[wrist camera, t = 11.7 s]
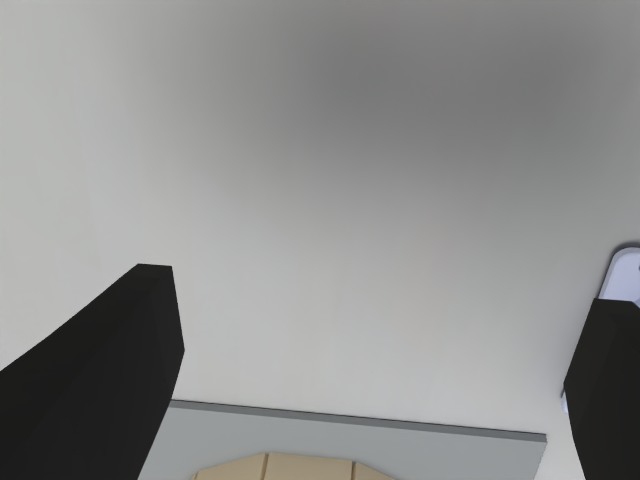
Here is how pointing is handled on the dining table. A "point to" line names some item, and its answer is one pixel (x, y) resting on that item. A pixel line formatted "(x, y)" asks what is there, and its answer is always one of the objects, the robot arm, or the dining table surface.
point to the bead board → (329, 448)
